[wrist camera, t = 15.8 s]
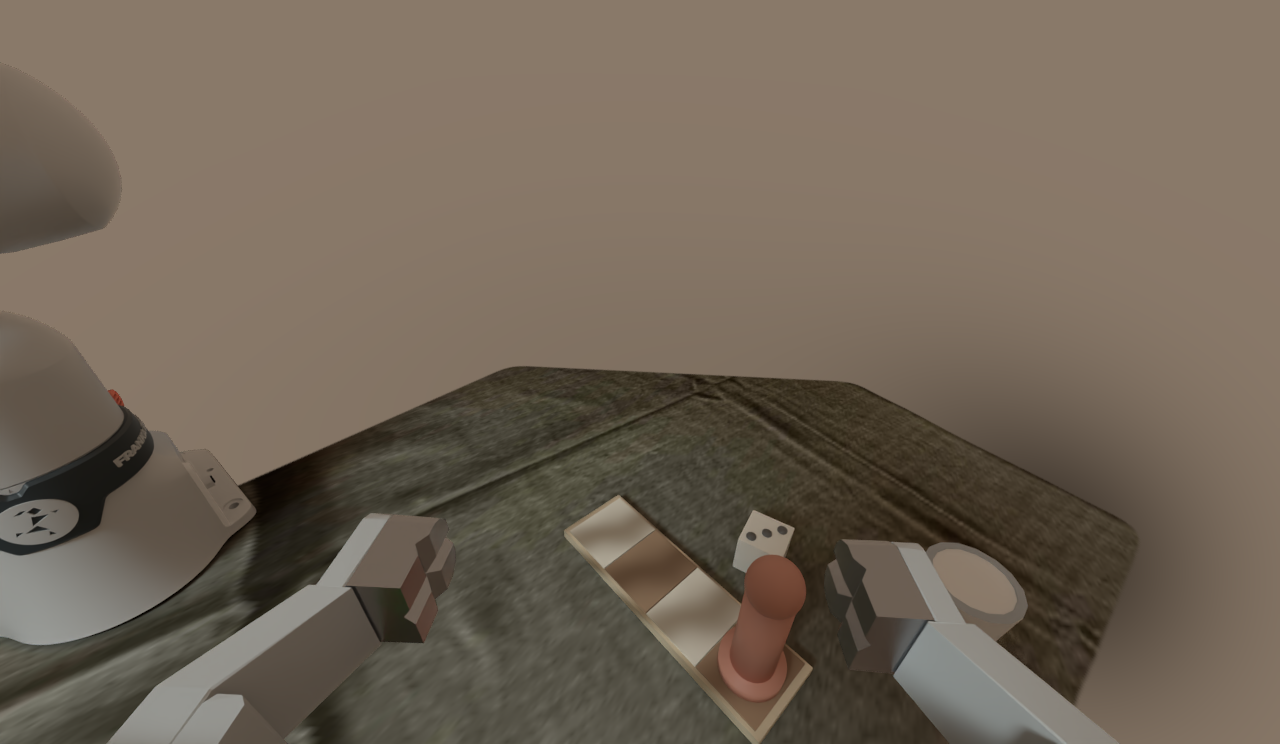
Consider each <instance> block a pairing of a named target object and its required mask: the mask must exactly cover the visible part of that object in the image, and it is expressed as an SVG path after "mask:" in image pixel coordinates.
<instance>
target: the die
mask: <svg viewBox="0 0 1280 744" xmlns="http://www.w3.org/2000/svg"><path fill="white" fill-rule="evenodd" d="M794 529H795V528H793V527H791V526H789V525H786V524H784V523H782V522H780V521H777V520H775V519H773V518H771V517H768V516H766V515H764V514H762V513H759V512H757V511H755V510H753V511H752V513H751V515H750V517H749V519H748V521H747V523H746V525H745V527H744V529H743V531H742V533H741V535H740V537H739V539H738V543H737V547H736V552H735V557H734V561H733V567H735V568H737V569H739V570H741V571H743V572H745V573H746V572H747V569H748V568H749V566H750V565H751V564H752V562H753V561H755V560H756V559H757V558H759V557H761V556H764V555H779V556H782V557H786V555H787V552H788V548H789V545H790V542H791V539H792V535H793V532H794Z"/></svg>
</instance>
